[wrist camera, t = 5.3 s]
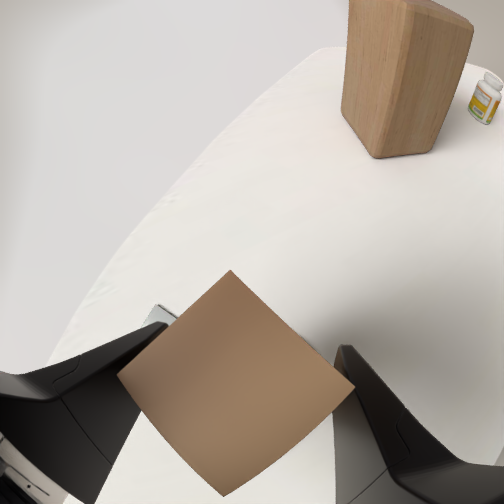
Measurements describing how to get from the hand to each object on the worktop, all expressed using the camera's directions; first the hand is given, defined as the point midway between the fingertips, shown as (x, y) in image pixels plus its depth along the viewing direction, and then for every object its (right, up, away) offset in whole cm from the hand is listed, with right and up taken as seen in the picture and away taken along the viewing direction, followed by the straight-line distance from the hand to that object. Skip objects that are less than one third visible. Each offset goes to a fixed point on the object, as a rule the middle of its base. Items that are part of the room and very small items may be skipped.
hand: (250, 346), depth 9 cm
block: (+18, +19, +21) cm, 34 cm away
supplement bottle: (+43, +29, +23) cm, 56 cm away
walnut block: (+1, -4, +6) cm, 7 cm away
